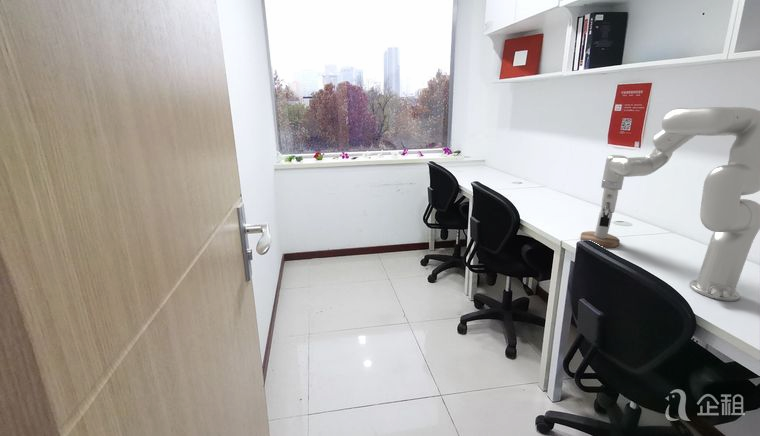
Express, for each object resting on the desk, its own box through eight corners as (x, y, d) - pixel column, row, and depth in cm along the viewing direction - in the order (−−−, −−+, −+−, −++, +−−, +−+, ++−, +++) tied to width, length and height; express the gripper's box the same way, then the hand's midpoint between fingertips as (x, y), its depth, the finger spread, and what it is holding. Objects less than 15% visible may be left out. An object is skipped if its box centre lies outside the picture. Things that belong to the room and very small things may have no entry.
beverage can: (603, 235, 166) (609, 210, 162) (608, 239, 162) (615, 213, 158) (592, 235, 167) (598, 209, 163) (597, 239, 162) (603, 213, 158)
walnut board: (618, 250, 155) (619, 246, 155) (578, 242, 163) (579, 238, 162) (619, 239, 167) (620, 235, 167) (581, 233, 175) (582, 229, 174)
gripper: (622, 189, 148) (613, 230, 153) (622, 182, 162) (614, 219, 167) (600, 187, 152) (592, 226, 157) (602, 180, 166) (595, 217, 171)
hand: (604, 223), depth 162 cm, fingers open, 9 cm apart
